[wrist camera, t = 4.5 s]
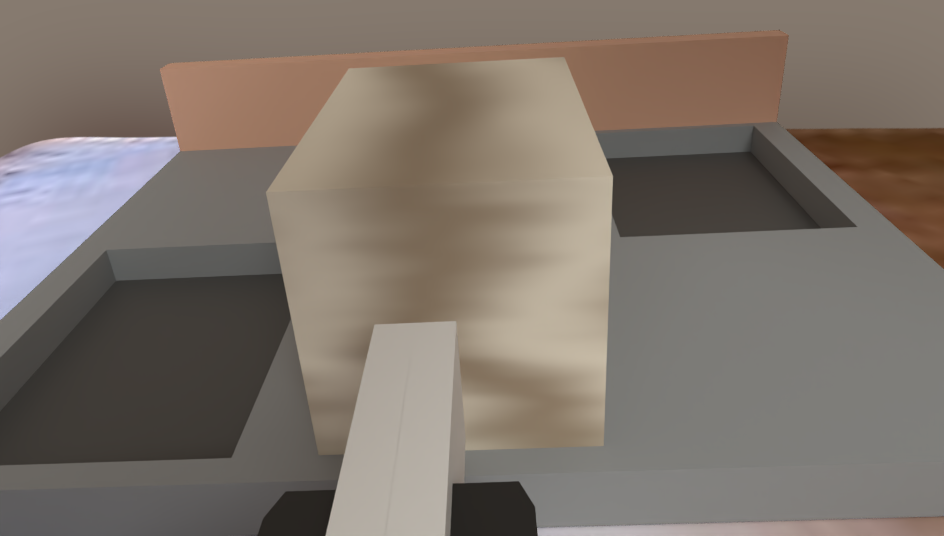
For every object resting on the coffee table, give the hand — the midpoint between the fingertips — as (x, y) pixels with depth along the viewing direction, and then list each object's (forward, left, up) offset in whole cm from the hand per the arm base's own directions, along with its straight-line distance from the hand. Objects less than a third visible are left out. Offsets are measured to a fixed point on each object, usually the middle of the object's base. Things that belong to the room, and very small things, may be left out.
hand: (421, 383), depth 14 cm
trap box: (0, -19, -8) cm, 20 cm away
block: (0, -11, -6) cm, 12 cm away
